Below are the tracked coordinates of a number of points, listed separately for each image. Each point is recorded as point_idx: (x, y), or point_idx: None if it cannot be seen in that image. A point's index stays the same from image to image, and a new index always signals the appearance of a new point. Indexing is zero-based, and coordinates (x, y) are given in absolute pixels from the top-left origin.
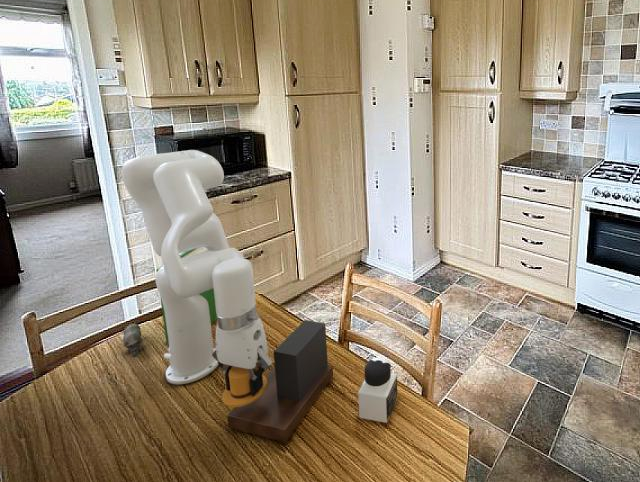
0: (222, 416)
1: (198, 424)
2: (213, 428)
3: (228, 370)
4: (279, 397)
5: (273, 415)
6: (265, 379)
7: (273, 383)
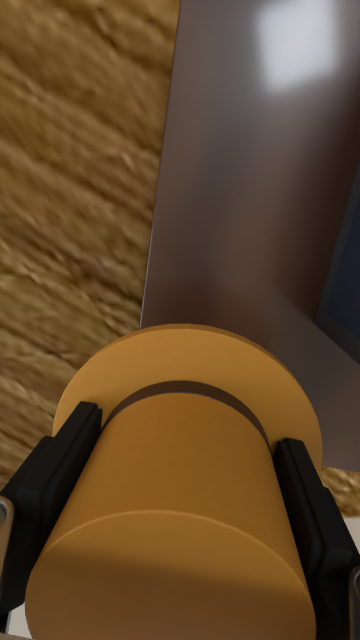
0: (73, 340)
1: (12, 376)
2: None
3: (11, 601)
4: None
5: (343, 424)
6: (286, 382)
7: (246, 237)
